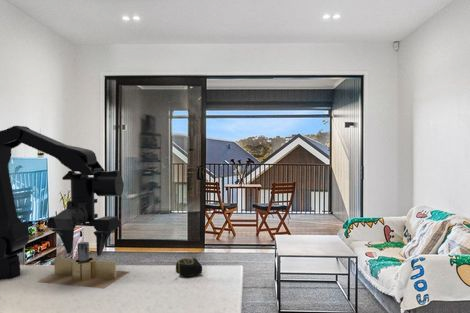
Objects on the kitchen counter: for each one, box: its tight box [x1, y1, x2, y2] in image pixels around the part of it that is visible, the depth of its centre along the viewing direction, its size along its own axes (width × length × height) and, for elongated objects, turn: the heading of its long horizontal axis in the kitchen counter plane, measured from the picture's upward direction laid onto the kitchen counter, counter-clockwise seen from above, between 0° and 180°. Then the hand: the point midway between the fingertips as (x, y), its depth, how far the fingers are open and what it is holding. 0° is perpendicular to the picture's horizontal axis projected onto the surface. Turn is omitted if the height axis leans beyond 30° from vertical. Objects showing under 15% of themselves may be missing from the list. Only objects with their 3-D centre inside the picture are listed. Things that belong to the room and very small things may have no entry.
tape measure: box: [175, 257, 203, 277], centre depth 100 cm, size 7×7×4 cm
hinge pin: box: [77, 241, 90, 263], centre depth 96 cm, size 3×3×9 cm
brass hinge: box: [53, 255, 117, 281], centre depth 96 cm, size 19×6×4 cm, turn 76°
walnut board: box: [36, 270, 130, 289], centre depth 96 cm, size 20×12×1 cm, turn 76°
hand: (84, 254), depth 96 cm, fingers open, 9 cm apart
